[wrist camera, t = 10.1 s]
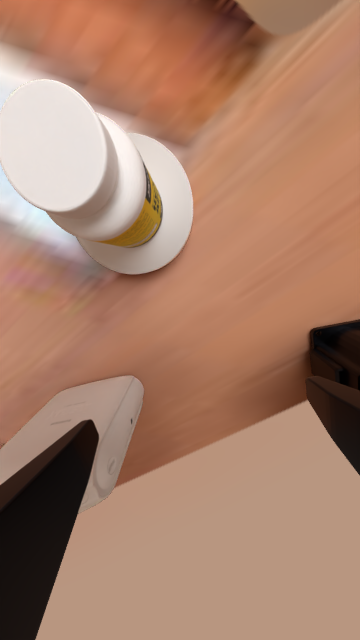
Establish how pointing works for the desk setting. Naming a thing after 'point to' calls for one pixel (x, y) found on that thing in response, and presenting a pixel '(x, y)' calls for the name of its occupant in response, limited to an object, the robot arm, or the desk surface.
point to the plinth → (174, 221)
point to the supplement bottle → (77, 166)
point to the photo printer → (65, 413)
